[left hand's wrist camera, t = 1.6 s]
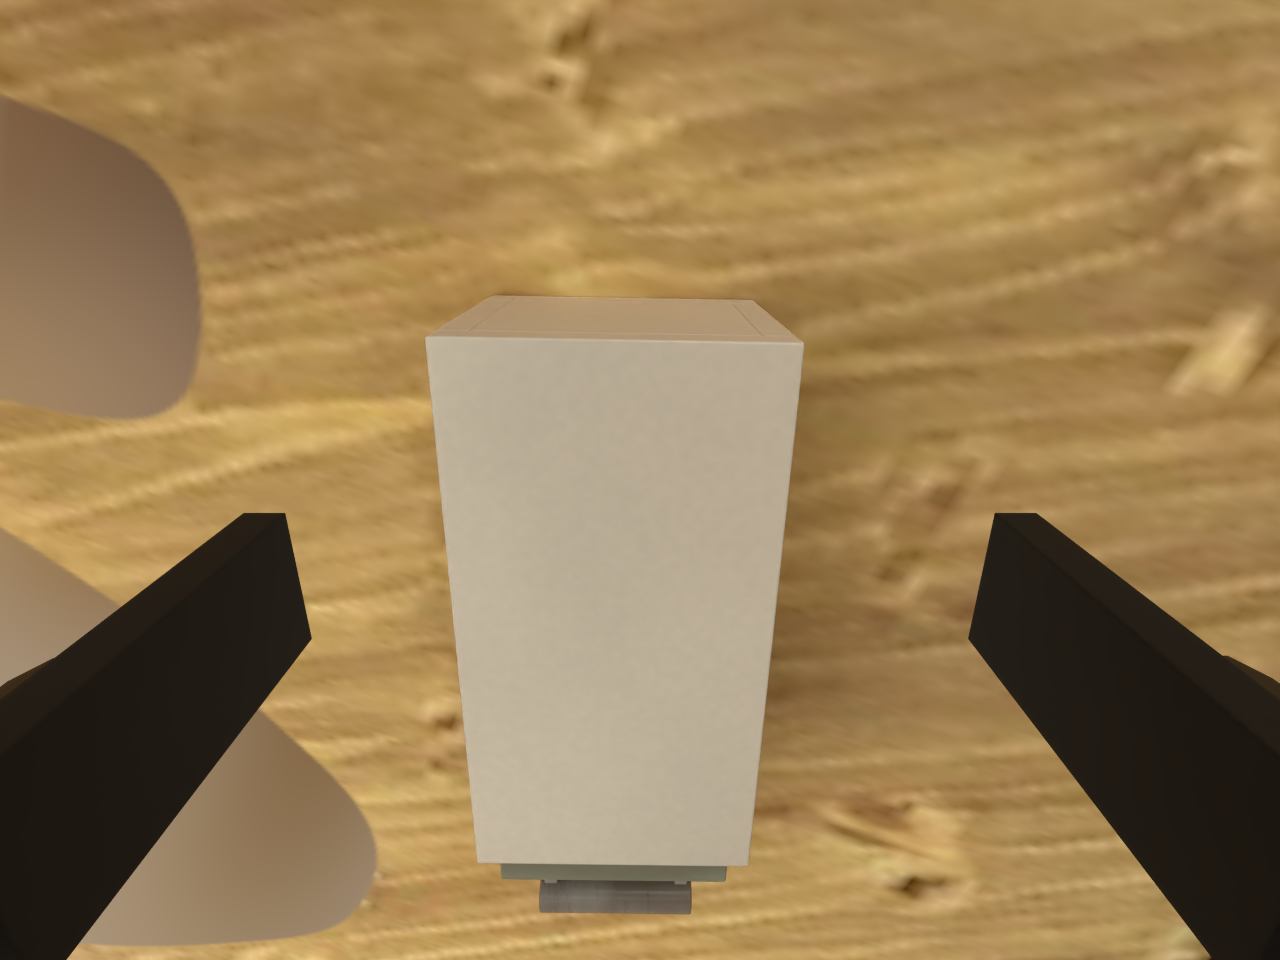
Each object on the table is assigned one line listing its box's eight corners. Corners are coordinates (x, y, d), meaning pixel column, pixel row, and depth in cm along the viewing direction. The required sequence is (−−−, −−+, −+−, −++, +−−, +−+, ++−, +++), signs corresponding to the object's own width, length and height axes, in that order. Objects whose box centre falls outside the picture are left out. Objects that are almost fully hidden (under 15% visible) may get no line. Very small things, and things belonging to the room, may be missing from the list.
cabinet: (721, 704, 34) (748, 867, 25) (517, 701, 34) (477, 864, 25) (753, 299, 26) (805, 342, 18) (491, 294, 26) (423, 335, 18)
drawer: (702, 840, 36) (716, 980, 29) (533, 838, 36) (509, 978, 29) (735, 390, 27) (765, 449, 20) (507, 386, 27) (465, 444, 20)
